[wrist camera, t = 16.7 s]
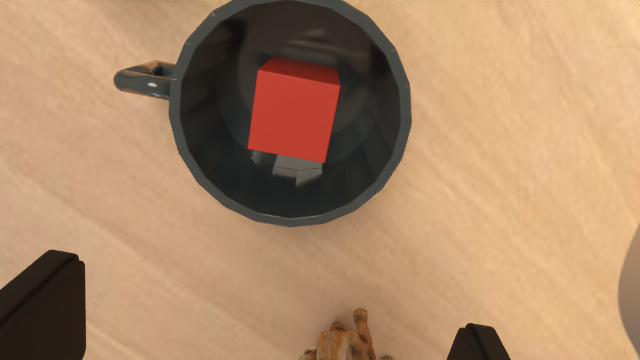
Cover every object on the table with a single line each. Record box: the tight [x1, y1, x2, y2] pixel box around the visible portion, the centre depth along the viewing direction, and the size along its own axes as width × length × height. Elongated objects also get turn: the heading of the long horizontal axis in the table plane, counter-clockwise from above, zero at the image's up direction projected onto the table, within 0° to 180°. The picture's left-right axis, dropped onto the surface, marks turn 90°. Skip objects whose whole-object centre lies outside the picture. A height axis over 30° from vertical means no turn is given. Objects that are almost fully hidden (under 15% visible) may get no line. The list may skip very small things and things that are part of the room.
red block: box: [248, 55, 341, 163], centre depth 26 cm, size 4×4×8 cm
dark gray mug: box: [113, 0, 412, 227], centre depth 26 cm, size 16×13×8 cm
